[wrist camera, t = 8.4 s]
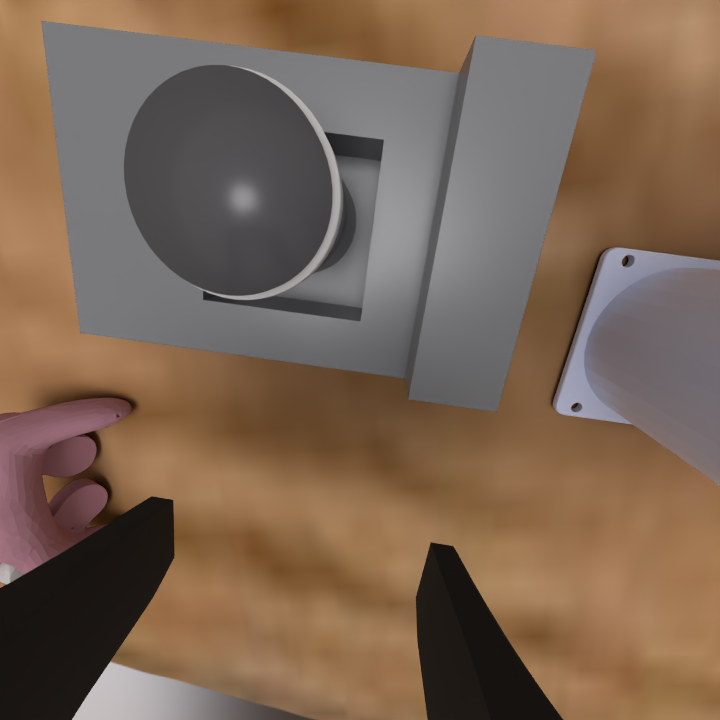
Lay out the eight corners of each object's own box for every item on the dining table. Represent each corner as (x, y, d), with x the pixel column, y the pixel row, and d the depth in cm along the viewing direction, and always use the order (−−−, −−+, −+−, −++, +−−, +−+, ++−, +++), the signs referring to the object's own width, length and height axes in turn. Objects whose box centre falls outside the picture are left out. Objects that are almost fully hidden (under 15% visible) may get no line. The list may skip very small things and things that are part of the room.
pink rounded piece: (93, 378, 21) (-91, 426, 15) (137, 395, 19) (-58, 459, 13) (123, 514, 24) (-20, 597, 18) (163, 542, 22) (16, 647, 16)
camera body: (511, 127, 14) (596, 50, 9) (459, 358, 18) (496, 412, 12) (129, 79, 15) (-31, -28, 9) (144, 314, 18) (32, 346, 12)
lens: (364, 163, 14) (346, 65, 7) (354, 281, 16) (329, 312, 8) (250, 152, 14) (103, 45, 7) (250, 270, 16) (128, 291, 8)
